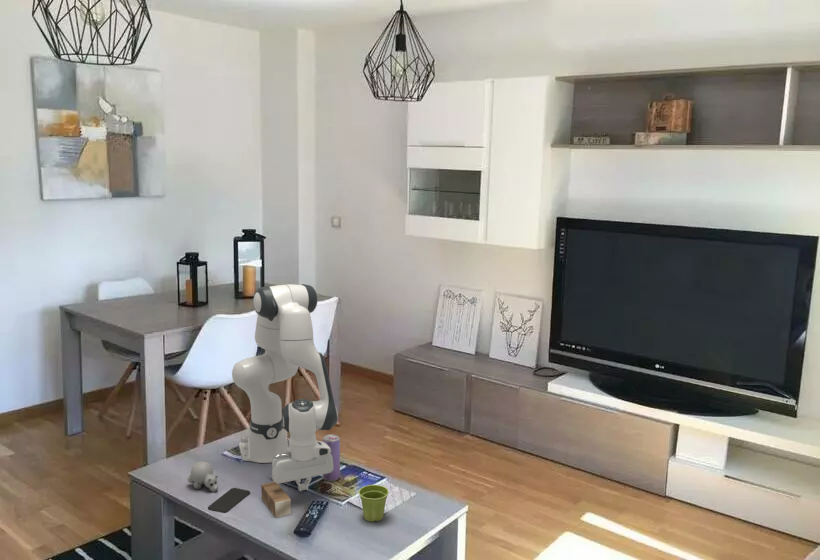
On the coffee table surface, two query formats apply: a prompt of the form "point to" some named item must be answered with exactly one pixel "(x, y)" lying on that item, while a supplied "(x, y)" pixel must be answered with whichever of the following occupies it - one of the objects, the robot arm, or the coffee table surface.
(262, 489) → the walnut block
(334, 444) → the beverage can
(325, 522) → the coffee table surface
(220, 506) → the phone
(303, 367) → the robot arm
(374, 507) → the plant pot
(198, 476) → the round bodied animal figurine
